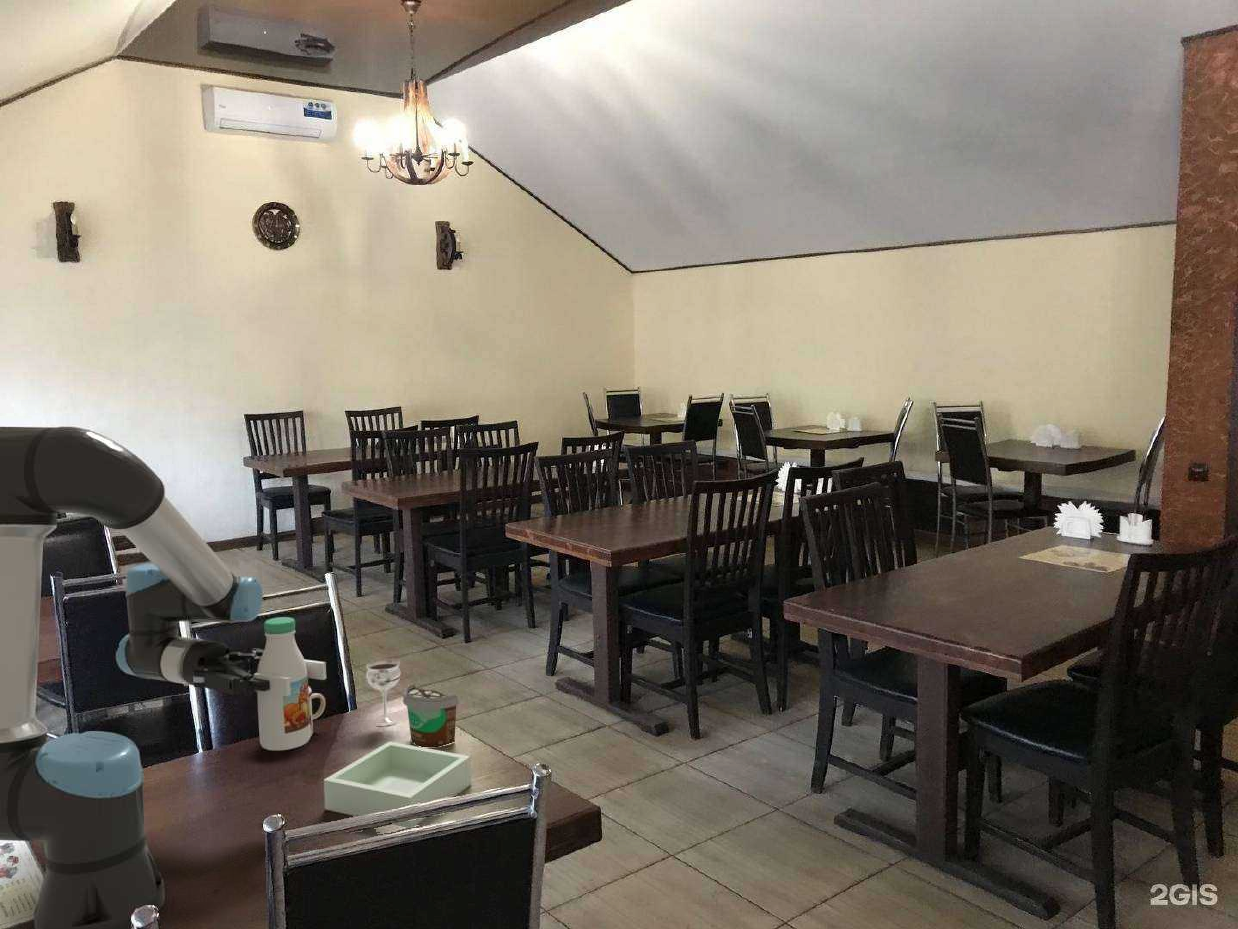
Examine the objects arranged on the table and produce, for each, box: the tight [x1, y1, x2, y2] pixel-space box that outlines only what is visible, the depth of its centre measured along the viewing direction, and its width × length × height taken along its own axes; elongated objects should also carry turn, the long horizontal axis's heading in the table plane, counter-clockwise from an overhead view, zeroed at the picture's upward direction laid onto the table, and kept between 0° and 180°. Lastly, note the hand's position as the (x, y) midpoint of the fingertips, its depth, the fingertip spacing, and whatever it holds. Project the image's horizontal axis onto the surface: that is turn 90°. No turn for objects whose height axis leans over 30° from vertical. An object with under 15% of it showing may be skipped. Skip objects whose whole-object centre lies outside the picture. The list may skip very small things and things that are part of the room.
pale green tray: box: [323, 741, 472, 829], centre depth 159 cm, size 17×17×5 cm
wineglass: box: [365, 658, 402, 723], centre depth 192 cm, size 7×7×12 cm
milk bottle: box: [256, 616, 312, 751], centre depth 152 cm, size 8×8×20 cm
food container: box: [402, 682, 460, 749], centre depth 181 cm, size 12×6×10 cm, turn 55°
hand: (306, 678), depth 150 cm, fingers closed on milk bottle, 7 cm apart
